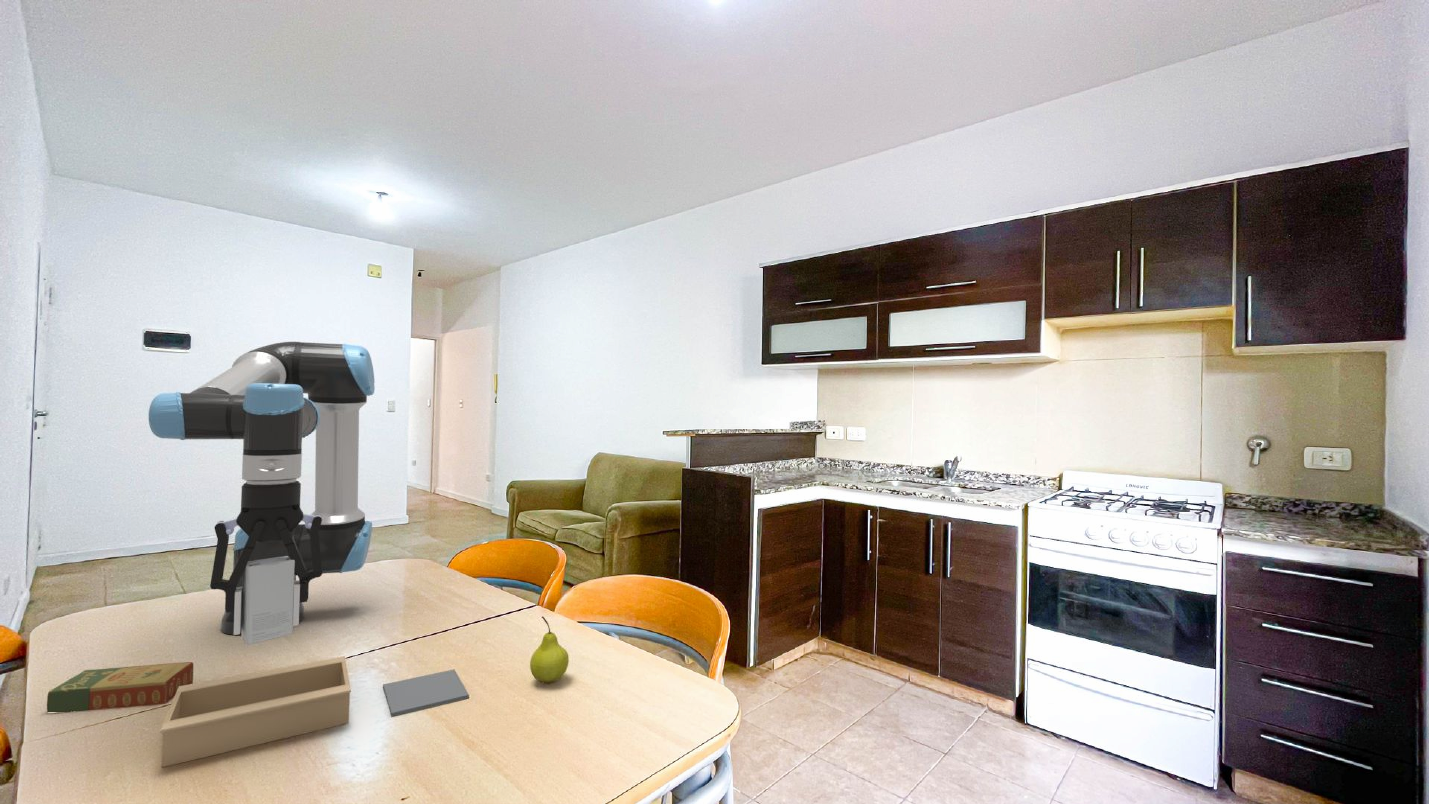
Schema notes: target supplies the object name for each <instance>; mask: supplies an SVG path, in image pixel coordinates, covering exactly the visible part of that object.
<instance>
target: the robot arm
mask: <svg viewBox="0 0 1429 804" xmlns="http://www.w3.org/2000/svg"><path fill="white" fill-rule="evenodd" d="M372 361H373V360H372V357H371V355H370V352H369V351H368V349H367V348H366V347H364V346H361V345H355V344H346V343H322V342H306V341H305V342H304V341H303V342H301V341H283V342H282V341H281V342H277V343H271V344H268V345H264V346H260V347H257V348H255V349H251V350H249V351H247V352H245V353H243V354H241V355H239V356H238V358H237V359H235V361H233V364H232V365H231V368H228V369H227V370H226V371H224V372H222V373H221V374H219V375H217V376H216V377H214V378H212V379H211V380H209V381H206V383H204V384H202V385H200V386H198V388H196V389H194V390H193V391H190V392H188V393H185V392H184V393H183V392H179V391H176V392H165V393H164V392H163V393H159V394H157V395H156V396H155V397H154V398H153V399H152V400H151V402H150V405H149V409H148V424H149V428H150V431H151V432H152V434H153V435H154V436H155V437H158V438H160V439H166V440H167V439H168V440H169V439H170V440H171V439H174V440H181V441H186V440H243V445H242V450H243V451H242V462H241V463H242V465H241V466H242V468H241V473H242V474H241V479H242V480H244V481H246V482H245V483H243V485H241V495H240V498H241V499H240V512H239V514H238V515H237V517H236V518H233V519H229V520H225V521H224V520H219V521H217V523H216V524H215V525H214V532H215V535H216V538H217V541H216V547H215V553H214V554H215V555H214V560H213V566H212V573H211V578H210V585H209V588H210V589H211V590H213V591H214V590H219V591H223V592H224V593H225V595H224V596H225V598H224V600H225V602H224V603H225V605H224V607H225V608H224V614H223V615H222V618H221V623H220V624H221V626H220V631H221V632H222V633H224V634H228V635H233V636H241V628H242V626H241V625H242V582H243V571H244V569H245V567H246V564H247V562H248V561H255V560H261V559H268V558H275V557H283V556H288V557H290V559H291V560H295V567H294V610H293V627H295V626H300V625H299V623H300V622H301V621H303V619H304V618H305V607H304V604H303V603H307V602H308V600H309V584H310V582H311V581H312V580H314V579H317V578H321V576H322V575H323V574H336V573H337V574H338V573H339V574H342V573H348V572H356V571H359V570H360V569H362V568H363V567H364V565H365V564H366V560H367V556H368V552H369V549H370V543H371V539H372V534H373V523H372V521H369V520H366V514H365V512H364V511H363V510H362V509H360V508H359V453H360V452H359V451H360V450H359V446H360V445H359V442H360V441H359V438H360V409H361V408H362V407H364V406H365V405H366V404H367V400H368V398H367V397H370V396H373V395H374V394H375V373H374V367H373V366H374V365H373V362H372ZM304 394H307V397H304ZM313 432H315V462H314V463H315V469H314V471H315V477H314V479H315V483H314V484H315V485H314V487H315V488H314V489H315V490H314V506H315V507H314V511H313V512H312V513H311V514H306V513H304V512H303V510H302V508H301V492H302V490H301V488H302V487H301V486H302V483H300V481H299V480H298V479H300V478H301V477H302V464H303V463H302V461H303V458H302V456H303V452H302V450H303V449H302V446H303V443H302V442H303V438H306V437H309V436H310V435H311V434H312V433H313ZM301 522H303V523H302V524H300V523H301ZM236 527H239V529H238V530H237V531H236V532H235V528H236ZM234 532H235V535H234V536H235V537H234V544H233V547H232V551H233V565H232V566H233V567H232V568H233V569H232V573H231V574H230V577H229V579H224V571H225V566H226V560H227V553H228V548H229V541H230V535H232V534H233V533H234ZM297 578H298V580H297Z"/></svg>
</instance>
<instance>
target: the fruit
mask: <svg viewBox="0 0 1429 804" xmlns="http://www.w3.org/2000/svg"><path fill="white" fill-rule="evenodd" d="M541 618H542V619H543V621H544V623H545V624H546V625H547V627H548V632H546V633H545V634H544V635H543V637H542V641H541V643H540V644H539V646H538V647H537V648H535V651H534V652H533V653H532V656H531V658H530V661H529V663H530V664H529V668H530V672H531V675H532V677H533V678H534V679H535V680H537V682H540V683H542V684H544V685H549V684H553V683H555V682H556V681H558V680H559V679H560V678H561V677H562V676H564V675H565V673H566V672H567V668H568V666H569V662H570V661H569V658H570V657H569V653H568V651H567V650H566V649H565V648H564V647H563V646H562V645H560V644H559V642H558V637H557V636H556V634H555V632H552V631H551V628H550V625H549V622H548V621H547V619H546V618H545V617H544V615H542V616H541Z"/></svg>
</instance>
